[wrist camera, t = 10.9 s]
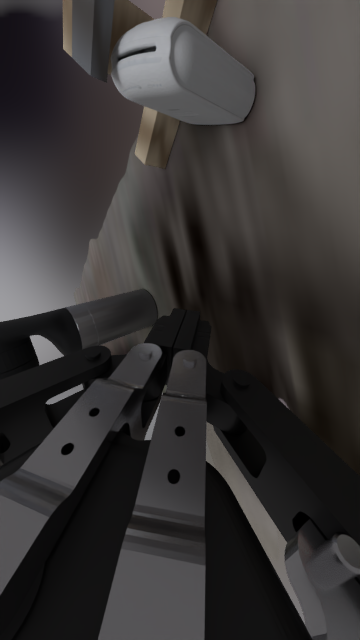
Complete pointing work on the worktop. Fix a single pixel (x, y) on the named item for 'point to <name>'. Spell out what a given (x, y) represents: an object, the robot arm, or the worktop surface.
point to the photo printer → (181, 73)
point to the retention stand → (97, 45)
